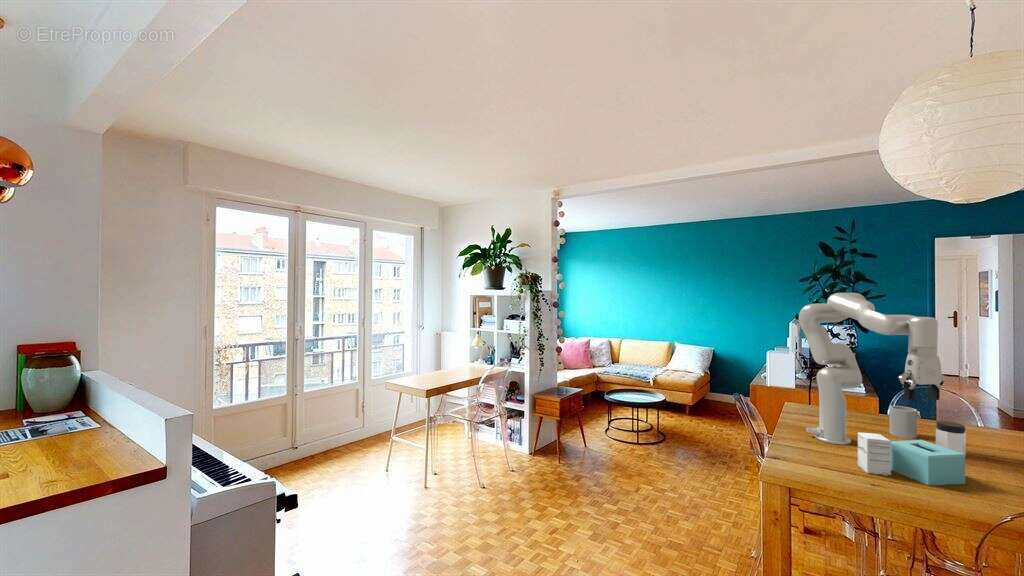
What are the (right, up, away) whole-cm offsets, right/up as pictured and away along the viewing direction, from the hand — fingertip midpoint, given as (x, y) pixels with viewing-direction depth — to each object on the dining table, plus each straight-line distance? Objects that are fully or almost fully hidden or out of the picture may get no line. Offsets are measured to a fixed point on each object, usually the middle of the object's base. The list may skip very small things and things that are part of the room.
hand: (921, 399), depth 155 cm
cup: (+31, -27, +42) cm, 58 cm away
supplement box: (-15, -27, +3) cm, 31 cm away
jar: (+30, -27, +19) cm, 44 cm away
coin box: (0, -27, -2) cm, 27 cm away
